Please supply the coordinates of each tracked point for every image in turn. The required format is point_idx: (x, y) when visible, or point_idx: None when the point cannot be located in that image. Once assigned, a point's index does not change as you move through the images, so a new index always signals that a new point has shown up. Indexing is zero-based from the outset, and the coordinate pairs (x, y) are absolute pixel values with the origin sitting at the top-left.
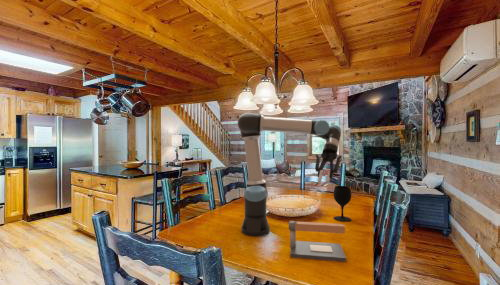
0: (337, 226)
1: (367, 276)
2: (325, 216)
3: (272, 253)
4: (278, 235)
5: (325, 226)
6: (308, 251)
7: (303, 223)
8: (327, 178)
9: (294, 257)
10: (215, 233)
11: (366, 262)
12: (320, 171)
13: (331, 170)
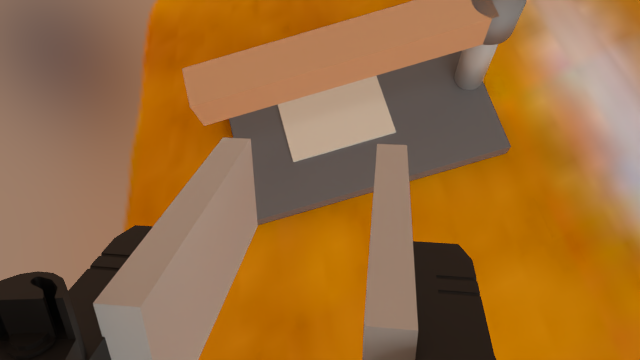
0: (224, 57)
1: (155, 17)
2: None
3: (537, 16)
4: (629, 235)
5: (294, 40)
6: None
7: (428, 6)
8: (222, 163)
9: None
10: None
11: (146, 118)
12: (401, 290)
13: (46, 302)
